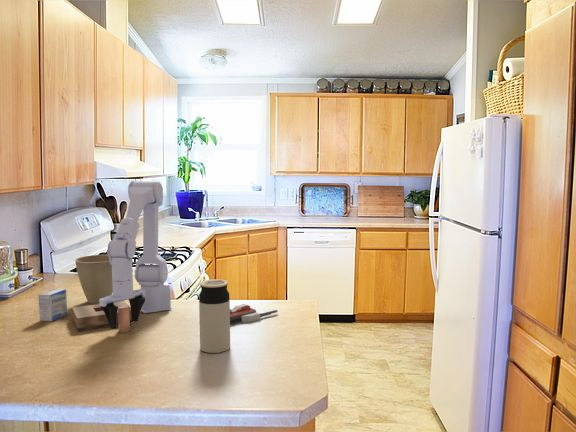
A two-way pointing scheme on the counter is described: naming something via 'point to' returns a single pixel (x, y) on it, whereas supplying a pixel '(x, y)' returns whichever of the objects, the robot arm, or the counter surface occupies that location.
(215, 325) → the travel mug
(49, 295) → the medicine box
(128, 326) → the peg
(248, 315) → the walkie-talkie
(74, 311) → the socket board
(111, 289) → the plant pot
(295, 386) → the counter surface
